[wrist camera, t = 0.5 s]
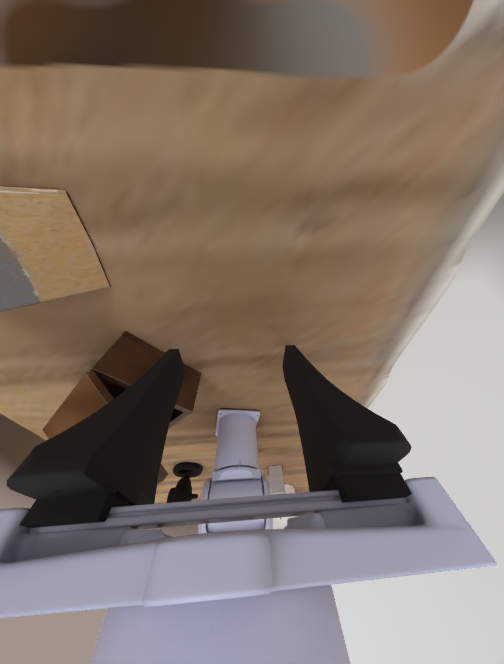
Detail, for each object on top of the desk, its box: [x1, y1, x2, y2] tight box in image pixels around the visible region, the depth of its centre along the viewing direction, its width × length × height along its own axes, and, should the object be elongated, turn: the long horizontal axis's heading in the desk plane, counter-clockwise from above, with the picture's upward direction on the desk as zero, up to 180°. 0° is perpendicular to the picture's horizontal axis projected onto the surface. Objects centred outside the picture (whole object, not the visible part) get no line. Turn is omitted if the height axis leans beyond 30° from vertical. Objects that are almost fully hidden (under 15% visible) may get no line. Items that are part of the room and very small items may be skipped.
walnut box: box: [90, 331, 201, 429], centre depth 25 cm, size 12×14×6 cm
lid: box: [43, 371, 168, 484], centre depth 19 cm, size 12×14×1 cm
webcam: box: [167, 463, 202, 503], centre depth 45 cm, size 8×8×10 cm
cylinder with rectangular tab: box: [270, 484, 298, 529], centre depth 60 cm, size 9×9×12 cm
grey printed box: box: [269, 465, 286, 520], centre depth 50 cm, size 4×7×10 cm, turn 5°
